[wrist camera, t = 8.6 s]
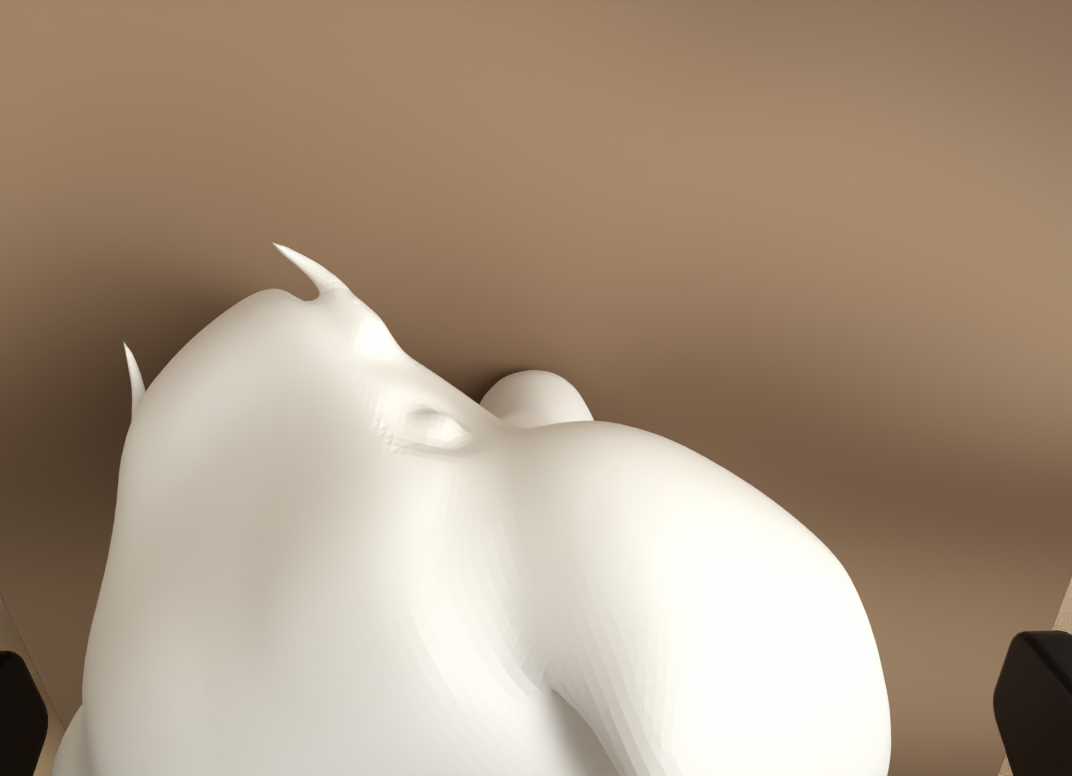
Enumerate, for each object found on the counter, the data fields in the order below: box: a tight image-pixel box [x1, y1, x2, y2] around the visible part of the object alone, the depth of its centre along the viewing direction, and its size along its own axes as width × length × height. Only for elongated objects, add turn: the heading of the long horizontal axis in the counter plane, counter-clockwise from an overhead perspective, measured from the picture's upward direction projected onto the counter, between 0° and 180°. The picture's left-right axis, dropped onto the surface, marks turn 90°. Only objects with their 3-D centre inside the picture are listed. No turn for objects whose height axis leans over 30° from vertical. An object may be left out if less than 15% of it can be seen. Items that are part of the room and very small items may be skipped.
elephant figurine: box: [50, 242, 891, 776], centre depth 8 cm, size 7×8×6 cm
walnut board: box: [0, 0, 1072, 776], centre depth 11 cm, size 16×14×2 cm
